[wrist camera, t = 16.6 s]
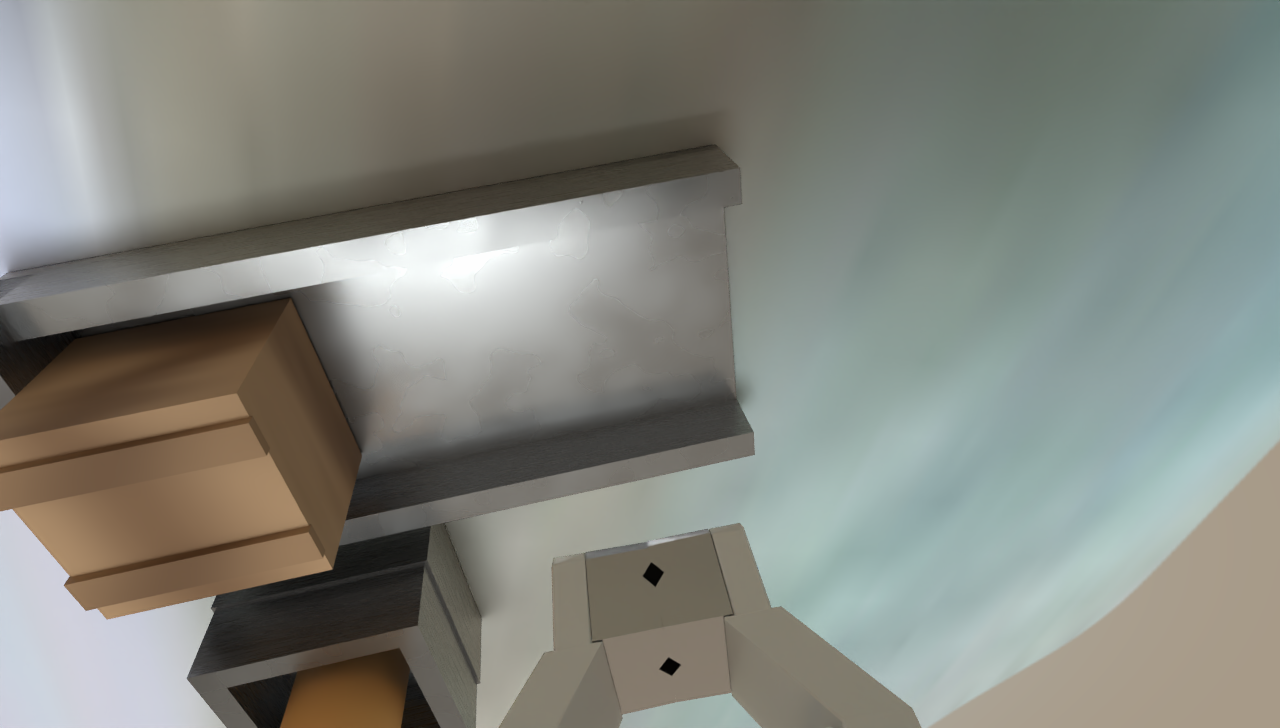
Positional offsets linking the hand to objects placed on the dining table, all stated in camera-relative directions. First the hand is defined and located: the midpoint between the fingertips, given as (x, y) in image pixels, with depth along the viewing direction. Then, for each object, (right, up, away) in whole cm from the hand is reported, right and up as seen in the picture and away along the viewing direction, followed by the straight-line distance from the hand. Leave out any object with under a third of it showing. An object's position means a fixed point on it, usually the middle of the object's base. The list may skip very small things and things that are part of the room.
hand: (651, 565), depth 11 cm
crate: (-13, +2, +10) cm, 17 cm away
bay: (-7, +4, +11) cm, 14 cm away
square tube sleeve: (-11, -5, +16) cm, 20 cm away
